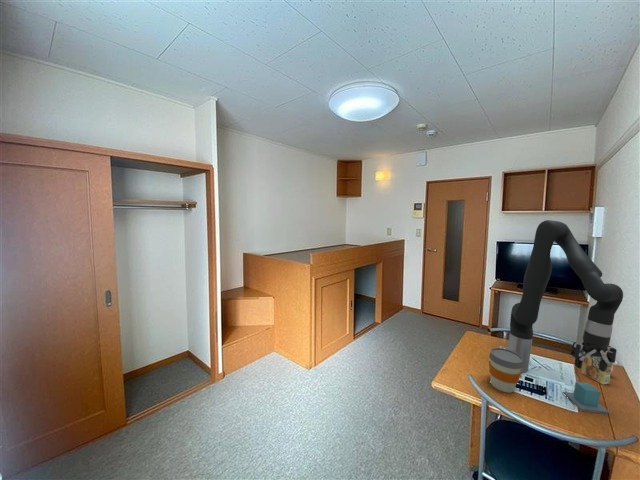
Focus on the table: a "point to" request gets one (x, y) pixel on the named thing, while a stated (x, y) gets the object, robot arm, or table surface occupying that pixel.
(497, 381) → the reusable coffee cup
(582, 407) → the gray base with block
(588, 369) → the candy box
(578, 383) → the teal block
